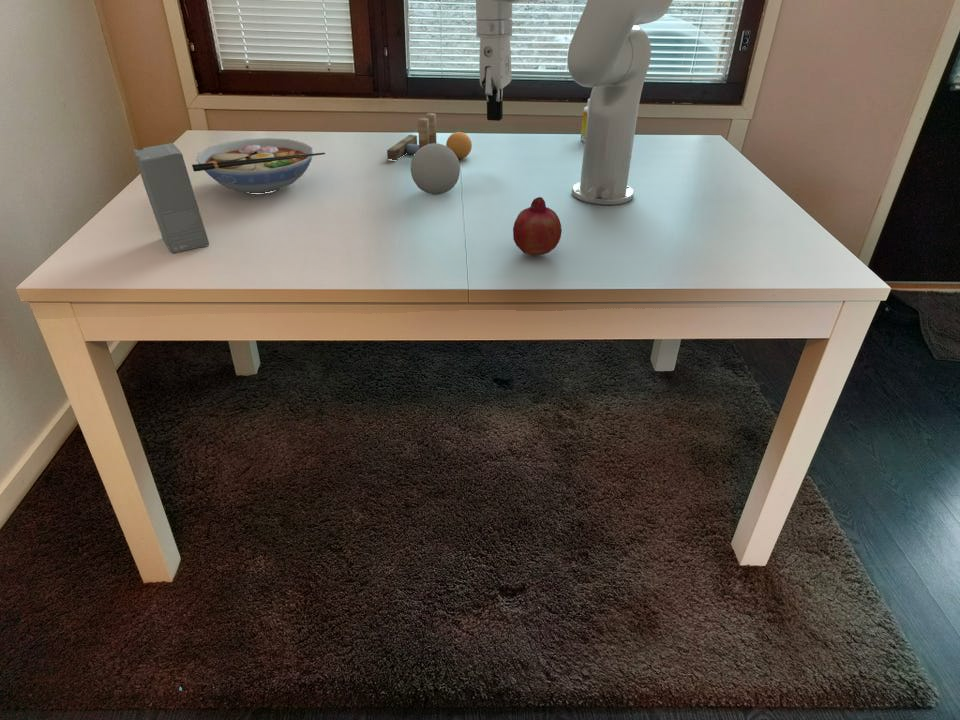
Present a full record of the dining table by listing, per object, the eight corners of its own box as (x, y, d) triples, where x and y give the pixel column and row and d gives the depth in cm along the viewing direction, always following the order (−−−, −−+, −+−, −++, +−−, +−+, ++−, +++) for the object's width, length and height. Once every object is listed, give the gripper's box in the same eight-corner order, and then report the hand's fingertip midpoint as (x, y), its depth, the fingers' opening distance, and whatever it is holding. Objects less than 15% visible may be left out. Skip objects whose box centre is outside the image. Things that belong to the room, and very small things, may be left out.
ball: (448, 182, 139) (447, 135, 133) (468, 197, 131) (468, 147, 126) (404, 189, 135) (402, 140, 129) (422, 204, 128) (420, 154, 122)
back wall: (395, 161, 150) (395, 151, 149) (387, 160, 151) (387, 150, 149) (417, 145, 161) (416, 135, 160) (409, 144, 162) (409, 134, 161)
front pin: (441, 148, 152) (406, 145, 154) (441, 159, 153) (406, 155, 155) (444, 146, 153) (409, 142, 156) (445, 156, 155) (410, 152, 157)
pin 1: (427, 160, 151) (426, 121, 146) (418, 159, 152) (416, 120, 147) (431, 157, 153) (429, 118, 148) (421, 156, 154) (420, 117, 149)
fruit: (557, 267, 105) (563, 208, 100) (508, 262, 106) (511, 204, 101) (560, 246, 112) (565, 190, 106) (514, 243, 113) (517, 187, 107)
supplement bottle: (593, 145, 164) (598, 103, 158) (576, 140, 167) (580, 99, 162) (606, 141, 168) (611, 99, 162) (588, 136, 171) (593, 96, 165)
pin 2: (434, 154, 155) (433, 115, 150) (425, 153, 156) (424, 115, 151) (438, 151, 157) (437, 113, 152) (428, 151, 158) (427, 112, 153)
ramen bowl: (309, 166, 147) (304, 129, 142) (336, 198, 130) (331, 157, 125) (193, 180, 138) (183, 141, 133) (205, 216, 121) (195, 173, 116)
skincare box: (210, 246, 110) (188, 153, 101) (166, 255, 107) (139, 159, 98) (199, 229, 116) (177, 140, 107) (156, 238, 112) (130, 146, 104)
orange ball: (440, 135, 149) (444, 161, 151) (465, 133, 147) (468, 160, 149) (450, 130, 154) (453, 156, 156) (473, 129, 152) (476, 155, 154)
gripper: (502, 32, 128) (502, 128, 138) (519, 25, 140) (518, 113, 150) (466, 32, 130) (469, 126, 140) (486, 25, 142) (487, 112, 152)
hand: (494, 119), depth 145 cm, fingers closed
